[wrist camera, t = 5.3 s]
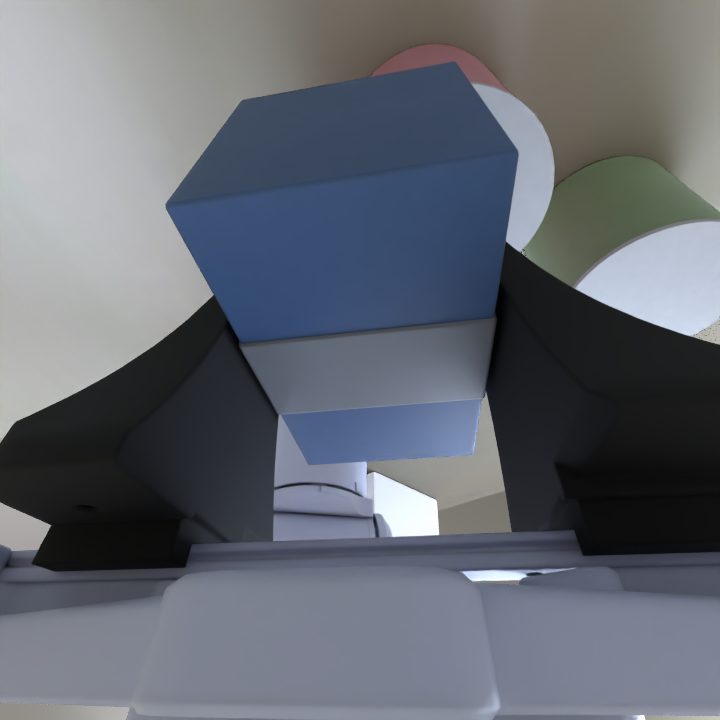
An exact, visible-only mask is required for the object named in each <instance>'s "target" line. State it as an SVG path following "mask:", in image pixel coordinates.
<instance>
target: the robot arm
mask: <svg viewBox="0 0 720 720" xmlns="http://www.w3.org/2000/svg"><path fill="white" fill-rule="evenodd" d="M495 314H496V317H497V324H496V330H495V336H494V343H493V349H492V355H491V361H490V368H489V374H488V380H487V386H486V392H487V396H488V401H489V406H490V411H491V416H492V420H493V425H494V431H495V436H496V441H497V446H498V452H499V457H500V463H501V468H502V474H503V480H504V486H505V491H506V497H507V504H508V510H509V516H510V523H511V529H512V532H508V533H480V534H456V535H455V534H454V535H427V536H400V537H392V532H391V529H390V527H389V525H388V524H387V522H386V521H385V519H384V517H383V516H382V515H381V514H379V513H376V514H374V513H373V499H372V498H367V462H353V463H337V464H320V465H308V463H307V461H306V460H305V458H304V456H303V454H302V452H301V451H300V449H299V447H298V445H297V443H296V442H295V440H294V438H293V436H292V434H291V433H290V431H289V429H288V427H287V425H286V424H285V422H284V420H283V418H282V416H281V415H280V414H277V413H276V411H275V409H274V407H273V406H272V404H271V402H270V400H269V399H268V397H267V395H266V393H265V391H264V390H263V388H262V386H261V384H260V383H259V381H258V379H257V377H256V376H255V374H254V372H253V370H252V368H251V367H250V365H249V363H248V361H247V360H246V358H245V356H244V354H243V353H242V351H241V349H240V347H239V342H240V341H239V339H238V337H237V335H236V334H235V332H234V330H233V328H232V326H231V325H230V323H229V321H228V319H227V317H226V316H225V314H224V312H223V310H222V308H221V307H220V305H219V303H218V301H217V299H216V298H215V296H214V295H213V296H212V297H211V298H210V299H209V300H208V301H207V302H206V303H205V304H204V305H203V306H202V307H201V308H199V309H198V310H197V311H196V312H195V313H194V314H193V315H192V316H191V317H190V318H189V319H188V320H186V321H185V322H184V323H183V324H182V325H181V326H179V327H178V328H177V329H176V330H174V331H173V332H172V333H171V334H169V335H168V336H167V337H165V338H164V339H163V340H161V341H160V342H159V343H157V344H156V345H155V346H153V347H152V348H150V349H149V350H147V351H146V352H144V353H143V354H141V355H140V356H138V357H137V358H135V359H134V360H132V361H131V362H129V363H128V364H126V365H125V366H123V367H122V368H120V369H118V370H117V371H115V372H113V373H111V374H110V375H108V376H106V377H105V378H103V379H101V380H99V381H98V382H96V383H94V384H92V385H90V386H88V387H87V388H85V389H83V390H81V391H79V392H77V393H75V394H73V395H71V396H70V397H68V398H65V399H63V400H61V401H59V402H57V403H55V404H53V405H51V406H49V407H47V408H44V409H42V410H40V411H38V412H36V413H34V414H32V415H30V416H28V417H25V418H23V419H21V420H19V421H16V422H15V423H14V424H13V426H12V427H11V428H10V430H9V431H8V433H7V434H6V436H5V437H4V438H3V440H2V441H1V443H0V502H1V503H3V504H5V505H7V506H9V507H12V508H14V509H16V510H19V511H21V512H23V513H26V514H28V515H30V516H32V517H34V518H36V519H39V520H41V521H43V522H46V523H48V524H50V525H51V527H50V529H49V531H48V533H47V535H46V537H45V538H44V540H43V542H42V544H41V546H40V548H39V550H28V551H27V550H26V551H11V549H10V548H8V547H5V546H3V545H0V703H25V704H55V705H84V706H115V707H130V709H129V712H128V716H127V719H126V720H645V718H644V715H683V716H687V715H689V716H701V715H702V716H720V345H718V344H715V343H711V342H707V341H704V340H700V339H697V338H694V337H691V336H688V335H685V334H682V333H679V332H676V331H673V330H670V329H667V328H664V327H661V326H658V325H655V324H652V323H650V322H647V321H644V320H642V319H639V318H637V317H634V316H632V315H629V314H627V313H625V312H622V311H620V310H618V309H615V308H613V307H611V306H608V305H606V304H604V303H602V302H600V301H598V300H596V299H594V298H592V297H590V296H588V295H586V294H584V293H582V292H580V291H578V290H576V289H575V288H573V287H571V286H569V285H567V284H566V283H564V282H562V281H561V280H559V279H557V278H556V277H554V276H553V275H551V274H550V273H548V272H547V271H545V270H544V269H542V268H541V267H539V266H538V265H536V264H535V263H533V262H532V261H531V260H529V259H528V258H527V257H525V256H524V255H523V254H521V253H520V252H519V251H517V250H516V249H515V248H514V247H512V246H511V245H510V244H509V243H507V242H506V243H505V250H504V256H503V263H502V270H501V276H500V283H499V289H498V296H497V303H496V309H495ZM492 580H493V581H494V580H521V581H520V582H519V585H509V584H492V583H475V582H472V581H492Z"/></svg>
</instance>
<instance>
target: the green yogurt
mask: <svg viewBox="0 0 720 720" xmlns="http://www.w3.org/2000/svg"><path fill="white" fill-rule="evenodd" d="M525 253H526V256H527V258H528V259H529V260H531V261H532V262H533V263H535V264H536V265H538V266H539V267H541V268H542V269H544V270H545V271H547V272H548V273H550V274H551V275H553V276H554V277H556V278H557V279H559V280H561V281H562V282H564V283H566V284H567V285H569V286H571V287H573V288H575V289H576V290H578V291H580V292H582V293H584V294H586V295H588V296H590V297H592V298H594V299H596V300H598V301H600V302H602V303H604V304H606V305H608V306H611V307H613V308H615V309H618V310H620V311H622V312H625V313H627V314H629V315H632V316H634V317H637V318H639V319H642V320H644V321H647V322H650V323H652V324H655V325H658V326H661V327H664V328H667V329H670V330H673V331H676V332H679V333H682V334H685V335H688V336H693V335H694V334H696V333H698V332H700V331H702V330H703V329H705V328H706V327H708V326H710V325H711V324H712V323H714V322H715V321H717V320H718V319H719V318H720V212H719V211H718V210H716V209H715V208H714V207H713V206H711V205H710V204H709V203H707V202H706V201H705V200H704V199H702V198H701V197H700V196H699V195H697V194H696V193H695V192H693V191H692V190H691V189H690V188H688V187H687V186H686V185H685V184H683V183H682V182H681V181H679V180H678V179H677V178H676V177H674V176H673V175H672V174H671V173H669V172H668V171H667V170H666V169H664V168H663V167H662V166H660V165H659V164H657V163H656V162H654V161H652V160H650V159H647V158H643V157H639V156H620V157H614V158H608V159H605V160H602V161H598V162H596V163H593V164H591V165H589V166H586V167H584V168H582V169H581V170H579V171H577V172H575V173H574V174H572V175H571V176H569V177H568V178H566V179H565V180H563V181H562V182H561V183H560V184H559V185H557V186H556V187H555V188H554V189H553V191H552V196H551V199H550V203H549V206H548V209H547V211H546V214H545V216H544V218H543V220H542V222H541V224H540V226H539V228H538V229H537V231H536V233H535V234H534V236H533V237H532V238H531V240H530V241H529V242H528V244H527V245H526V246H525Z"/></svg>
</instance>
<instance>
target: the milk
mask: <svg viewBox="0 0 720 720" xmlns="http://www.w3.org/2000/svg"><path fill="white" fill-rule="evenodd" d="M367 498H372V499H373V513H374V514H376V513H379V514H381V515H382V516H383V517H384V519H385V521H386V522H387V524H388V525H389V527H390V529H391V532H392V537H400V536H427V535H439V528H438V512H437V500H435V499H433V498H431V497H429V496H426V495H424V494H422V493H420V492H418V491H416V490H413V489H411V488H409V487H407V486H405V485H403V484H400V483H398V482H396V481H394V480H392V479H389V478H387V477H385V476H383V475H381V474H379V473H376V472H372V473H370V474H367Z"/></svg>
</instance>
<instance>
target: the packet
mask: <svg viewBox="0 0 720 720" xmlns="http://www.w3.org/2000/svg"><path fill="white" fill-rule="evenodd" d="M518 157H519V152H518V150H517V148H516V147H515V145H514V144H513V142H512V141H511V140H510V138H509V137H508V135H507V134H506V132H505V131H504V130H503V128H502V127H501V125H500V124H499V123H498V121H497V120H496V118H495V117H494V115H493V114H492V113H491V111H490V110H489V108H488V107H487V105H486V104H485V103H484V101H483V100H482V98H481V97H480V95H479V94H478V93H477V91H476V90H475V88H474V87H473V85H472V84H471V83H470V81H469V80H468V78H467V77H466V75H465V74H464V73H463V71H462V70H461V68H460V67H459V66H458V64H457V63H456V62H448V63H443V64H437V65H432V66H426V67H421V68H415V69H410V70H404V71H399V72H393V73H388V74H383V75H377V76H372V77H366V78H361V79H355V80H350V81H344V82H339V83H333V84H328V85H322V86H317V87H311V88H306V89H301V90H295V91H290V92H284V93H279V94H273V95H268V96H262V97H257V98H251V99H246V100H242V101H241V102H240V104H239V105H238V106H237V108H236V109H235V110H234V112H233V113H232V114H231V116H230V117H229V118H228V120H227V121H226V123H225V124H224V125H223V127H222V128H221V129H220V131H219V132H218V133H217V135H216V136H215V138H214V139H213V140H212V142H211V143H210V144H209V146H208V147H207V148H206V150H205V151H204V152H203V154H202V155H201V157H200V158H199V159H198V161H197V162H196V163H195V165H194V166H193V167H192V169H191V170H190V172H189V173H188V174H187V176H186V177H185V178H184V180H183V181H182V182H181V184H180V185H179V187H178V188H177V189H176V191H175V192H174V193H173V195H172V196H171V197H170V199H169V200H168V201H167V203H166V209H167V211H168V213H169V215H170V217H171V218H172V220H173V222H174V224H175V226H176V227H177V229H178V231H179V233H180V235H181V236H182V238H183V240H184V242H185V244H186V245H187V247H188V249H189V251H190V253H191V254H192V256H193V258H194V260H195V262H196V263H197V265H198V267H199V269H200V271H201V272H202V274H203V276H204V278H205V280H206V281H207V283H208V285H209V287H210V289H211V290H212V292H213V294H214V296H215V298H216V299H217V301H218V303H219V305H220V307H221V308H222V310H223V312H224V314H225V316H226V317H227V319H228V321H229V323H230V325H231V326H232V328H233V330H234V332H235V334H236V335H237V337H238V339H239V341H240V342H239V347H240V349H241V351H242V353H243V354H244V356H245V358H246V360H247V361H248V363H249V365H250V367H251V368H252V370H253V372H254V374H255V376H256V377H257V379H258V381H259V383H260V384H261V386H262V388H263V390H264V391H265V393H266V395H267V397H268V399H269V400H270V402H271V404H272V406H273V407H274V409H275V411H276V413H277V414H280V415H281V416H282V418H283V420H284V422H285V424H286V425H287V427H288V429H289V431H290V433H291V434H292V436H293V438H294V440H295V442H296V443H297V445H298V447H299V449H300V451H301V452H302V454H303V456H304V458H305V460H306V461H307V463H308V465H320V464H337V463H353V462H369V461H385V460H402V459H418V458H434V457H450V456H467V455H473V454H474V448H475V441H476V435H477V428H478V421H479V415H480V408H481V402H482V398H484V397H485V393H486V386H487V380H488V374H489V368H490V361H491V355H492V349H493V343H494V336H495V330H496V324H497V317H496V314H495V309H496V303H497V296H498V289H499V283H500V276H501V270H502V263H503V256H504V250H505V243H506V237H507V230H508V223H509V217H510V210H511V204H512V197H513V190H514V184H515V177H516V171H517V164H518Z"/></svg>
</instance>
